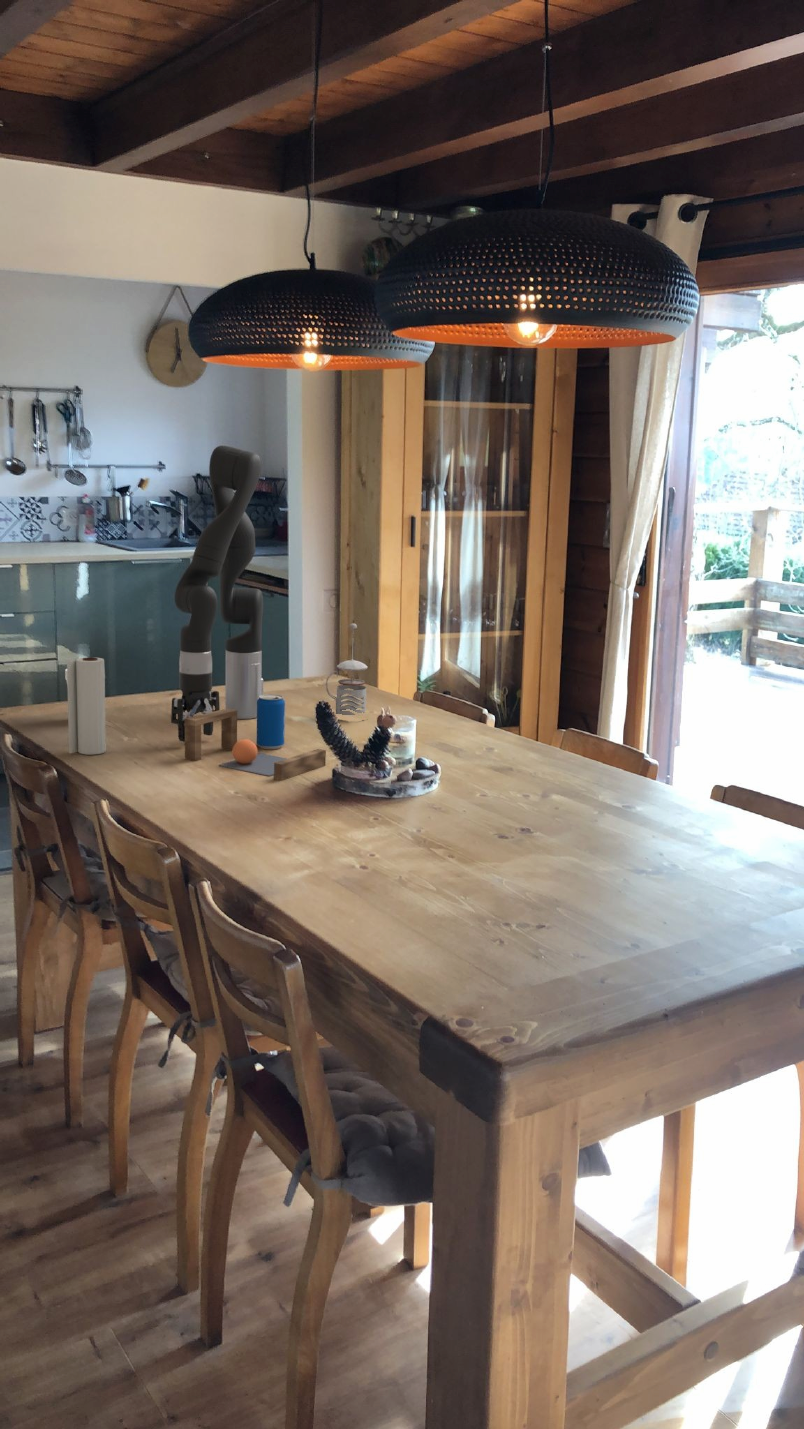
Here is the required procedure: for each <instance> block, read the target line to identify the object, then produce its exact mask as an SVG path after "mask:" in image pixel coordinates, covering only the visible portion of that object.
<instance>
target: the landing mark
mask: <svg viewBox="0 0 804 1429" xmlns="http://www.w3.org/2000/svg"><path fill="white" fill-rule="evenodd" d="M285 759H288V758H287V757H281V756H278V755H277V756H276V755H271V754H267V753H261V752H257V756H256V758H255V760H254V761H253V762H251V763H249V764H241V763H239V762H237V761H236V760H235V759H233V760H229V761H226V762H224V763H221V764H218V766H219V767H224V768H226V769H231V770H236V771H237V770H238V771H242V772H247V773H251V774H256V775H261V776H266V777H272V776H274V763H275V762H279V761H282V760H285Z"/></svg>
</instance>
